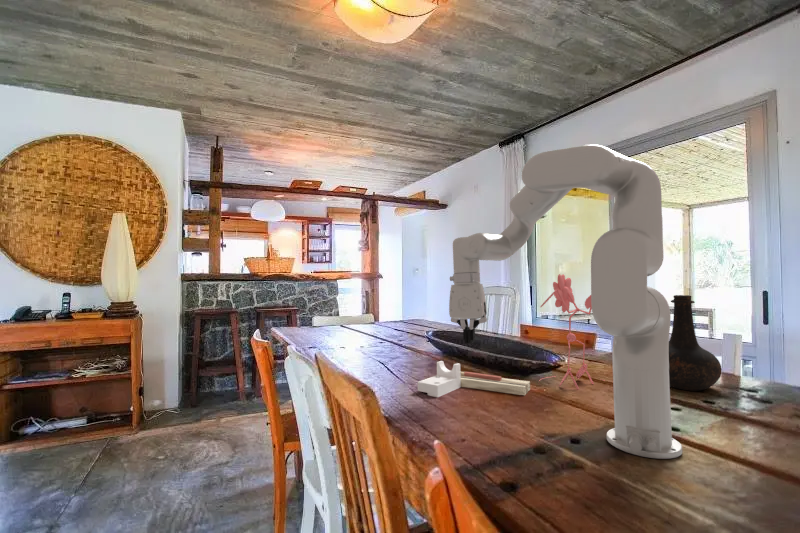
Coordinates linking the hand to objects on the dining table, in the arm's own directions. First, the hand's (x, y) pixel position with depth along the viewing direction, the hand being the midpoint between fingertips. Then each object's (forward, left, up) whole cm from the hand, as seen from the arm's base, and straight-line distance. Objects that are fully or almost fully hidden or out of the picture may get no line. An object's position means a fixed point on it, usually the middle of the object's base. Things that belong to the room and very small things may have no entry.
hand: (469, 342), depth 110 cm
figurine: (+28, -21, -15) cm, 39 cm away
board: (+11, -1, -15) cm, 19 cm away
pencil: (+12, +1, -13) cm, 18 cm away
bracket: (+1, +10, -16) cm, 19 cm away
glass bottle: (+40, -53, -15) cm, 69 cm away
